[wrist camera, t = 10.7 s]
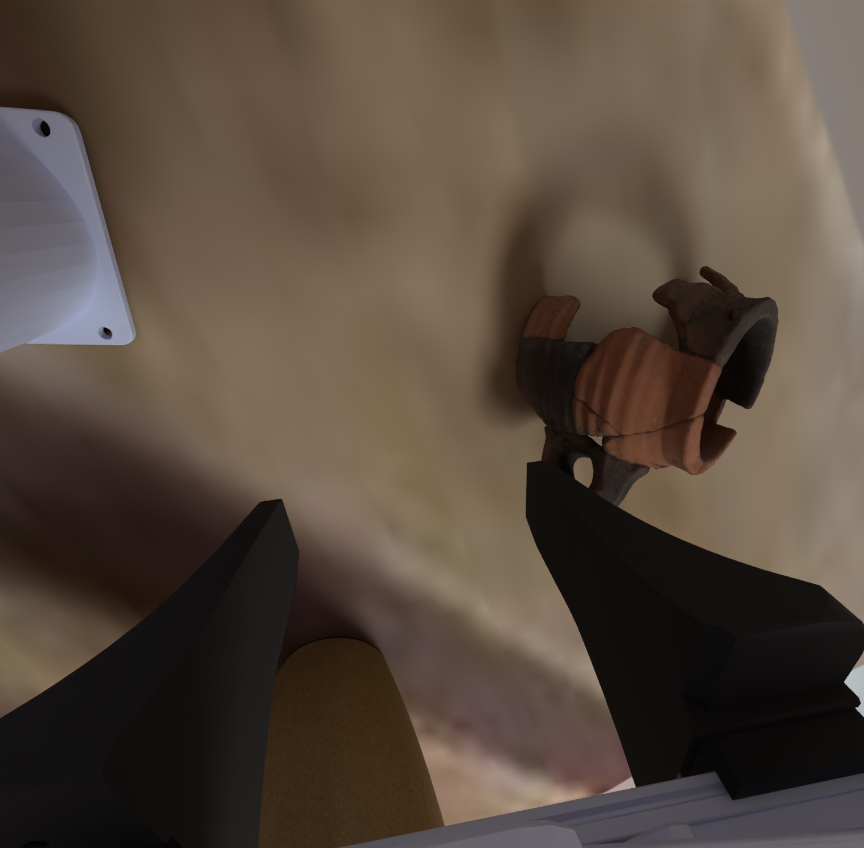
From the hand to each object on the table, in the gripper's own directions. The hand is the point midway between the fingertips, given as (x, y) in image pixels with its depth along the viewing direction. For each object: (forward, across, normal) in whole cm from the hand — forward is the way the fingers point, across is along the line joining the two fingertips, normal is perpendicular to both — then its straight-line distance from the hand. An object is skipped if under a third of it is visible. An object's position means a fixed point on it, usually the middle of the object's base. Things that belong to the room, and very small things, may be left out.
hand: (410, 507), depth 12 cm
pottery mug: (+10, -10, +1) cm, 14 cm away
